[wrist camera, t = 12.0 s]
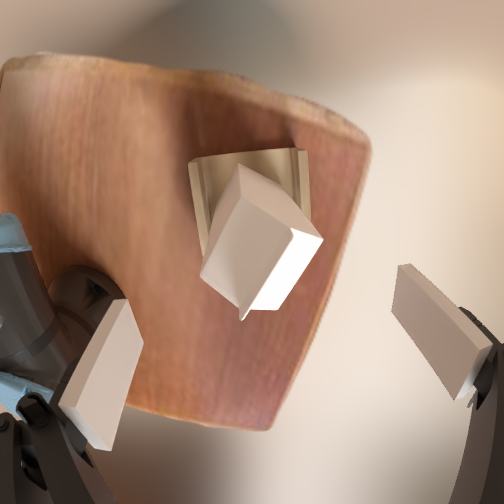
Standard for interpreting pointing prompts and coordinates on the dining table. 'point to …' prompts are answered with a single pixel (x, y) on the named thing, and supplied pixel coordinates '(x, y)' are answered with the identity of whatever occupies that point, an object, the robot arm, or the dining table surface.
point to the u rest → (261, 161)
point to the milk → (257, 243)
